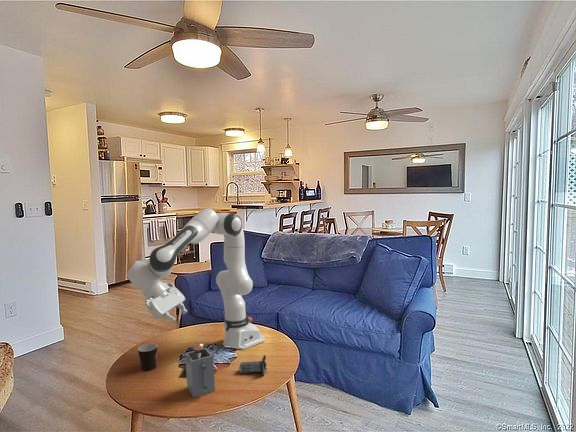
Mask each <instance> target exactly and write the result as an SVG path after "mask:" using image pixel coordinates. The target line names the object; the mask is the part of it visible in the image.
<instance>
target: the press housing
mask: <svg viewBox="0 0 576 432" xmlns="http://www.w3.org/2000/svg"><path fill="white" fill-rule="evenodd" d="M184 356H185V365H186V375H187V378H186V388H187V390H188V391H189V394H190V395H191V396H192V398H197V397H201V396H203V395H207V394H209V393H213V392H215V391H216V386H215V384H216V383H215V381H216V380H215V365H214V364H215V362H214V360H215V359H214V355H213V354H212V352H211V351H210V350H209V349H208V348H207V347H203V352H201V358H200V359H198V353H195V351H194V350H192V351H189V352H186V353H185V355H184Z"/></svg>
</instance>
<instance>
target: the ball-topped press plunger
mask: <svg viewBox="0 0 576 432" xmlns="http://www.w3.org/2000/svg"><path fill="white" fill-rule="evenodd" d="M193 348H194V350H193V351H195V353H198V359H200V358H201V352H203V348H204V343H203V342H201V341H200V342H199V341H197V342H195V343H194V344H193Z"/></svg>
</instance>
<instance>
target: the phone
mask: <svg viewBox="0 0 576 432" xmlns="http://www.w3.org/2000/svg"><path fill="white" fill-rule="evenodd" d="M180 378H186V379H187V375H186V364H185V365H184V367H183V369H182V371H181V373H180Z"/></svg>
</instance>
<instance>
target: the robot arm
mask: <svg viewBox="0 0 576 432" xmlns="http://www.w3.org/2000/svg"><path fill="white" fill-rule="evenodd" d="M210 234H217V235H223V238H224V239H223V262H224V264H225V266H226V270H220V271H219V272H218V274H216V277H215V283H216V285H217V286H218V288H219V291H220V294H221V297H222V301H223V305H224V307H223V308H224V318H223V320H224V322H223V326H224V327H223V328H224V338H223V342H222V345H224V346H230V347H233V348H235V349H234V350H241V351H242V350H245V349H249V348H251V347H253V346H255V345H258V344H260V343H264V342H265V341H266V340H265V339H266V338H265V336H264V335H263V334H261V331H260V329H259V327H257V326H256V325H254V324H253V323H251V322H253V317H250V316H248V315H247V314H246V302H245V300H244V299H243V296H246V295H248V294H250V293H251V291H252V289H253V287H254V286H253V285H254V281H253V280H252V278H251V277H250V275H249V272H248V268H247V265H246V255H245V254H246V253H245V252H246V250H245V248H246V247H245V245H246V243H245V240H246V238H245V232H244V229H243V221H242V218H241V216H240V215H238V214H236V213H234V212H233V213H232V212H231V213H230V212H217V213H216V211H214V209H211V208H204V209H202V210H201V211H199V212H198V213H196V214H195V215H194V216H193V217H192V218H191V219H190V220H188V222H186V224H185V225H184V227H182V229H181V230H180V231H179V232H178V233H177V234H176V235H175V236H174V237H172V238H171V240H169V241H167V242H166V243H165V244H163V245H160V246H157V247H156V248H154V249H153V250H152V251H151V252H150V254H149V259H146V260H136V261H134V262H133V263H132V264H131V265H130V266H129V267H128V269H127V272H126V276H127V278H128V280H129V281H130V282H131V284H132V285H133V286H134V287H135V288H136V289H137V290H139V291H140V292H141V293H142V295H143V297H144V298H146V299H145V301H144V305H145V306H146V308H147V310H148V312H149V313H150V314H151V315H152V317H153V318H154V319H155V320H160V319H161V318H164V319H165V320H167V321H169V322H170V323H172V324H173V323H174V322H176V321H177V318H176V317H175V316H172V315H170V312H172V311H173V310H175V309H176V308H178V309H180V313H181V314H182V315H183V316H184V315H185V314H187V313H188V309H186V307H185V305H184V302H185V301H186V297H185V296H184V294H183V293H182V292H181V291H180V290H179V289H178V288H177V287H175V284H174V282H173V283H172V282H163V280H164V279H167V277H169V276H170V275H171V273H172V271H173V268H174V265H175V262H176V259H177V257H178V255H179V253H181V252H182V251H183V250H184V249H185V248H186V247H187V246H188V245H189V244H192V245H197V244H200V243H201V242H202V241H203V240H205V239H206V238H207V236H209V235H210ZM224 346H223V347H224Z"/></svg>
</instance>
